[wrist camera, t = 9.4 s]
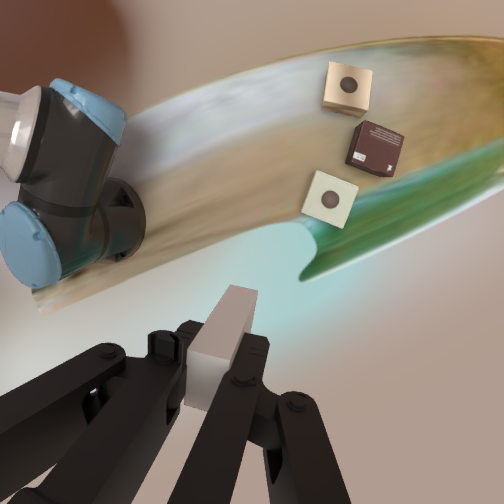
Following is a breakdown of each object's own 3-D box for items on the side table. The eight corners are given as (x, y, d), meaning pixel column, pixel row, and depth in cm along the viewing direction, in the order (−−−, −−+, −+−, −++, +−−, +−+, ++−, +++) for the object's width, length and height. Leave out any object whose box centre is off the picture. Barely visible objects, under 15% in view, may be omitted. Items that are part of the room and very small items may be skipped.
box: (391, 141, 42) (406, 136, 35) (380, 177, 44) (393, 178, 36) (355, 126, 42) (364, 118, 35) (343, 163, 44) (350, 161, 37)
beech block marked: (321, 109, 42) (323, 100, 37) (326, 74, 41) (329, 60, 35) (360, 118, 42) (368, 110, 36) (364, 82, 40) (372, 70, 34)
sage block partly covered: (301, 207, 47) (301, 212, 41) (315, 170, 45) (316, 170, 39) (338, 222, 46) (344, 229, 40) (353, 185, 45) (360, 187, 39)
